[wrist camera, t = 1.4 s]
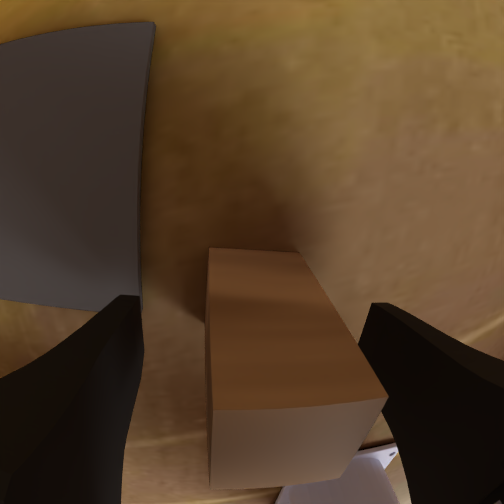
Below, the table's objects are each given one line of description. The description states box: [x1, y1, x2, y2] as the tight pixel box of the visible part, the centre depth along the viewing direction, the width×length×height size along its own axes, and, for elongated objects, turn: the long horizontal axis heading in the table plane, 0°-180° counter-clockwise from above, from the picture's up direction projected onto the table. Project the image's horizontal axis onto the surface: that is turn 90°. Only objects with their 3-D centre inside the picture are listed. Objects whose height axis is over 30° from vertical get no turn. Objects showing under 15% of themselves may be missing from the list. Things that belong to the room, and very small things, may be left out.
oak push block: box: [205, 247, 389, 490], centre depth 9 cm, size 3×3×7 cm
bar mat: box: [0, 22, 156, 312], centre depth 9 cm, size 10×8×1 cm
